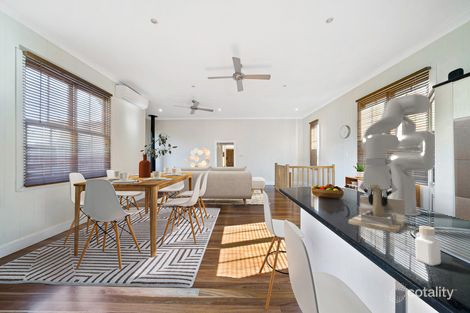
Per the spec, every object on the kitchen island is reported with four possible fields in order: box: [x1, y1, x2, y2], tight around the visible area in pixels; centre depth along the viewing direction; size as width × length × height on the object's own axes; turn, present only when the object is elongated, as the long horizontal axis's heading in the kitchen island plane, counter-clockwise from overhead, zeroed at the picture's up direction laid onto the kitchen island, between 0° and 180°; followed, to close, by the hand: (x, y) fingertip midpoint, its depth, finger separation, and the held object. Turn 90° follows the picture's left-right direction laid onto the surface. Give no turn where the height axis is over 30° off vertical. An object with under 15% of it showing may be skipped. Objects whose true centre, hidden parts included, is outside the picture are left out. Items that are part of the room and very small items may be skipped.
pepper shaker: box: [414, 225, 442, 267], centre depth 57 cm, size 4×4×10 cm
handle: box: [369, 185, 384, 218], centre depth 90 cm, size 5×6×15 cm
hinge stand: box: [347, 195, 406, 234], centre depth 91 cm, size 16×17×10 cm
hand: (378, 204), depth 90 cm, fingers closed on handle, 4 cm apart
